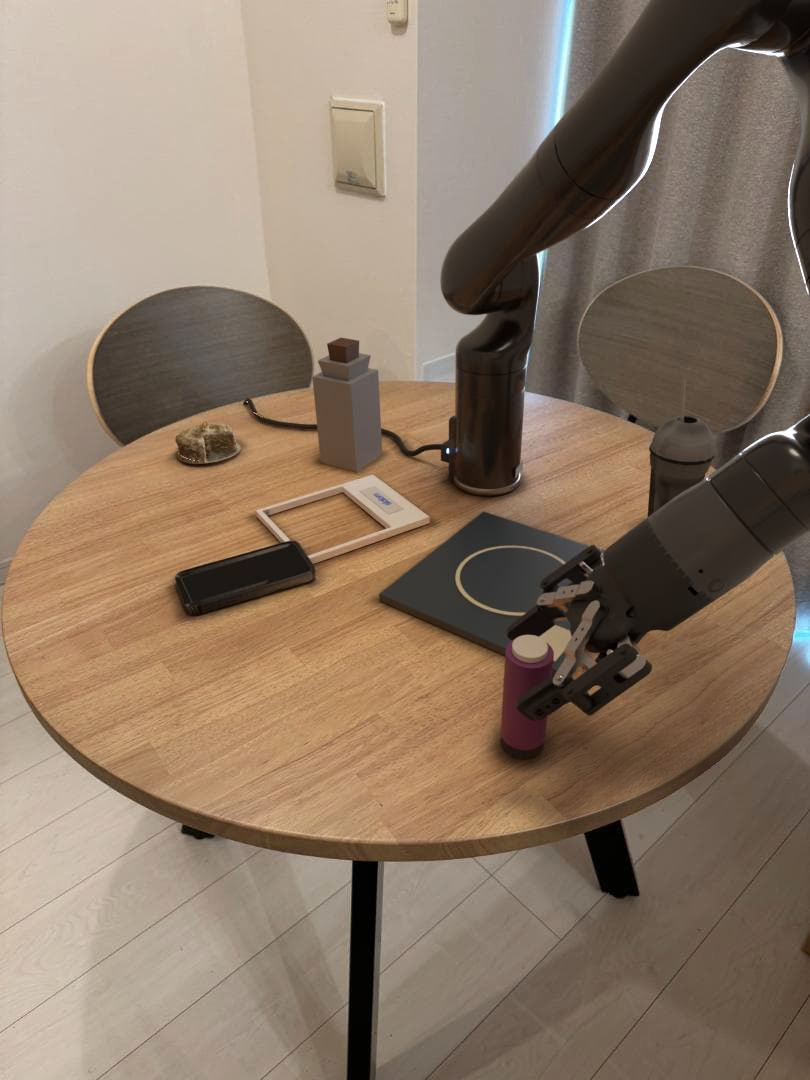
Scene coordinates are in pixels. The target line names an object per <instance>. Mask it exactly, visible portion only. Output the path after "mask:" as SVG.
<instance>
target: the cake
mask: <svg viewBox="0 0 810 1080" xmlns="http://www.w3.org/2000/svg"><path fill="white" fill-rule="evenodd" d="M182 430H183V431H181V432H180V433H179V434H176V435H175V437H174V439H175V443H176V445H177V453H176V458H177V460H178V461H180V462H183V463H185V464H186V463H187V464H192V465H203V464H213V463H218V462H221V461H224V460H227V459H229V458H232V457H234V456H236V455H237V454H239V453H240V452H241V450H242V446H241V444H239V442H238V441H237V435H236V434H235V431H234V428H233V427H232V426H231V425H229V423H218V422H216V423H213V422H209V423H208V421H203V422H202V423H201V424H197V425H194V426H190V427H188V428H185V429H182ZM178 450H179V451H178ZM178 452H179V453H180V454H179V455H178ZM180 455H182V456H184V457H186V458H188V459H186V458H183V457H181V456H180ZM189 459H191V460H189ZM193 460H195V461H193ZM198 460H199V461H198Z"/></svg>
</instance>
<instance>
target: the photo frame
mask: <svg viewBox="0 0 810 1080" xmlns="http://www.w3.org/2000/svg"><path fill="white" fill-rule="evenodd" d="M342 493H343V494H344V495H346V496H347V497H348V498H349V499H350V500H351V501H353V502H354V503H355V504H356V505H358V506H359V507H360V508H361V509H362V510H364V511H365V512H366V513H367V514H368V515H370V517H372V518H373V519H374V520H375V521H377V522H378V523H379V524H380V525H381V526H382V527H384V529H381V530H378V531H376V532H373V533H370V534H367V535H364V536H362V537H358V538H355V539H352V540H350V541H346V542H344V543H341V544H338V545H335V546H332V547H329V548H326V549H324V550H320V551H318V552H314V553H312V554H309V555H307V556H308V557H309V559H310V560H311V562H312V563H313V565H314V564H318V563H320V562H323V561H325V560H328V559H331V558H334V557H337V556H340V555H343V554H345V553H348V552H351V551H354V550H357V549H360V548H362V547H365V546H368V545H371V544H374V543H377V542H380V541H382V540H385V539H388V538H392V537H394V536H397V535H399V534H403V533H405V532H408V531H411V530H414V529H417V528H419V527H421V526H422V527H423V526H425V525H428V524H430V520H431V519H430V516H429V515H428V514H427V513H425V512H424V511H423V510H421V509H420V508H419V507H417V506H416V505H414V504H413V503H412V502H410V500H408V499H407V498H406V497H404V496H402V495H401V494H399V493H398V492H397V491H396V490H394V489H393V488H392V487H390V486H389V485H388V484H386V483H385V482H384V481H383V480H381V479H380V478H378V477H377V476H375V474H369V475H367V476H364V477H360V478H357V479H354V480H350V481H347V482H344V483H341V484H337V485H333V486H330V487H327V488H323V489H321V490H317V491H315V492H311V493H308V494H304V495H301V496H298V497H295V498H292V499H288V500H285V501H281V502H279V503H275V504H272V505H269V506H266V507H261V508H259V509H256V510H255V515H256V516H255V517H257V519H258V520H259V521H260V522H262V524H263V525H264V526H265V527H266V528H267V529H268V530H269V532H270V533H271V534H272V535H273V536H274V537H275V538H276V539H277V540H278V541H279V542H280V543H283V542H287V541H291V539H290V538H289V537H288V536H287V535H286V534H285V533H284V532H283V531H282V530H281V529H280V528H279V527H278V526H277V525H276V523H275V522H274V521H272V519H271V518H270V517H269V516H271V515H274V514H277V513H280V512H284V511H287V510H290V509H294V508H296V507H301V506H303V505H306V504H309V503H313V502H315V501H319V500H323V499H327V498H329V497H332V496H335V495H338V494H342Z"/></svg>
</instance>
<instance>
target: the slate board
mask: <svg viewBox="0 0 810 1080" xmlns="http://www.w3.org/2000/svg"><path fill="white" fill-rule="evenodd" d="M589 546H590V545H588V544H585V543H582V542H579V541H575V540H572V539H569V538H567V537H563V536H560V535H557V534H554V533H551V532H548V531H545V530H542V529H539V528H536V527H533V526H529V525H527V524H524V523H521V522H517V521H514V520H512V519H508V518H505V517H502V516H499V515H496V514H493V513H490V512H487V511H482V512H481V513H480V514H478V515H477V516H476V517H474V518H473V519H472V520H470V521H469V522H468V523H467V524H465V525H464V526H463V527H462V528H460V529H459V530H458V531H457V532H455V533H454V534H453V535H452V536H450V537H449V538H448V539H447V540H445V541H444V542H443V543H442V544H440V545H439V546H438V547H436V548H435V549H434V550H433V551H431V552H430V553H428V555H426V556H425V557H424V558H422V559H421V560H419V562H417V563H416V564H415V565H413V566H412V567H411V568H410V569H408V571H406V572H405V573H404V574H402V575H401V576H400V577H398V578H397V579H396V580H395V581H394V582H393V583H390V585H388V586H387V587H386V588H384V589H383V590H382V591H381V592H379V593H378V598H379V602H381V603H384V604H386V605H387V606H390V607H393V608H395V609H397V610H400V611H401V612H405V614H409V615H411V616H413V617H416V618H418V619H419V620H423V621H425V622H427V623H429V624H432V625H434V626H436V627H438V628H440V629H443V630H446V631H448V632H450V633H453V634H455V635H457V636H459V637H461V638H463V639H466V640H468V641H471V642H472V643H475V644H478V645H480V646H482V647H484V648H486V649H489V650H491V651H494V652H496V653H497V654H500V655H503V656H505V651H506V647H507V645H508V644H509V643H510V642H511V641H512V640H510V639H509V638H508V637H507V628H508V627H509V626H510V625H511V624H513V623H514V622H515V621H516V620H517V619H518V618H520V617H522V615H524V614H525V613H526V612H528V611H529V610H530V609H532V608H533V607H534V606H536V605H537V600H538V598H539V597H540V596H541V595H542V594H543V589H542V588H541V587H540V583H541V581H542V580H543V579H544V578H545V577H547V576H548V575H550V574H551V573H552V572H554V571H555V570H557V569H558V568H559V567H561V566H562V565H564V564H565V563H566V562H568V561H569V560H571V559H572V558H573V557H575V556H576V555H578V554H579V553H581V552H582V551H583V550H585V549H586V548H588V547H589ZM598 549H599V550H600V551H601V552H603V553H604V552H605V550H603V549H600V548H598ZM570 583H572V581H571V580H569V579H564V580H563V581H561V582H560V583H558V584H559V585H560V586H561V587H564V586H567V585H569V584H570ZM554 622H555V626H553V627H552V628H550V629H549V630H548V631H546V632H545V633H544V634H542V635H541V636H539V637H540V638H542V639H543V640H544V641H545V642H547V643H548V644H549V645H550V646H551V647H552V649H553V652H554V659H553V669H552V677H554V675H555V674H556V672H557V671H558V669H559V667H560V666H561V664H562V663H563V661H564V659H565V657H566V655H565V647H566V645H567V644H568V642H569V641H570V639H571V633H570V627H571V623H570V622H569V621H568V620H566V621H556V620H555V619H554Z"/></svg>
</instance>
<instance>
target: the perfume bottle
mask: <svg viewBox="0 0 810 1080" xmlns="http://www.w3.org/2000/svg"><path fill="white" fill-rule="evenodd" d="M326 346H327V352H328V355H326V356H324V357H322V358H319V359H318V360H317V363H318V366H319V367H320V370H321V372H319V373H317V374H315V375H312V377H311V378H312V390H313V397H314V408H315V409H314V410H315V417H316V418H315V419H316V424H317V429H316V430H317V436H318V437H317V438H318V439H317V441H318V448H319V459H320V463H321V464H326V465H328V466H329V465H330V466H333V467H337V468H341V469H344V470H348V471H352V472H354V473H358V472H359V471H361V470H362V469H363V468H365V467H367V466H368V465H369V464H371V463H373V462H374V461H375V460H377V459H379V458H380V457H381V456H383V440H382V434H381V428H382V424H381V423H382V421H381V420H382V419H381V399H380V380H379V379H380V378H379V370H378V369H375V368H371V367H369V365H370V361H371V356H372V355H371V354H366V353H361V352H360V340H359V339H352V338H346V337H339V338H336V339H334V340H332V341H330V342H327V343H326Z"/></svg>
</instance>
